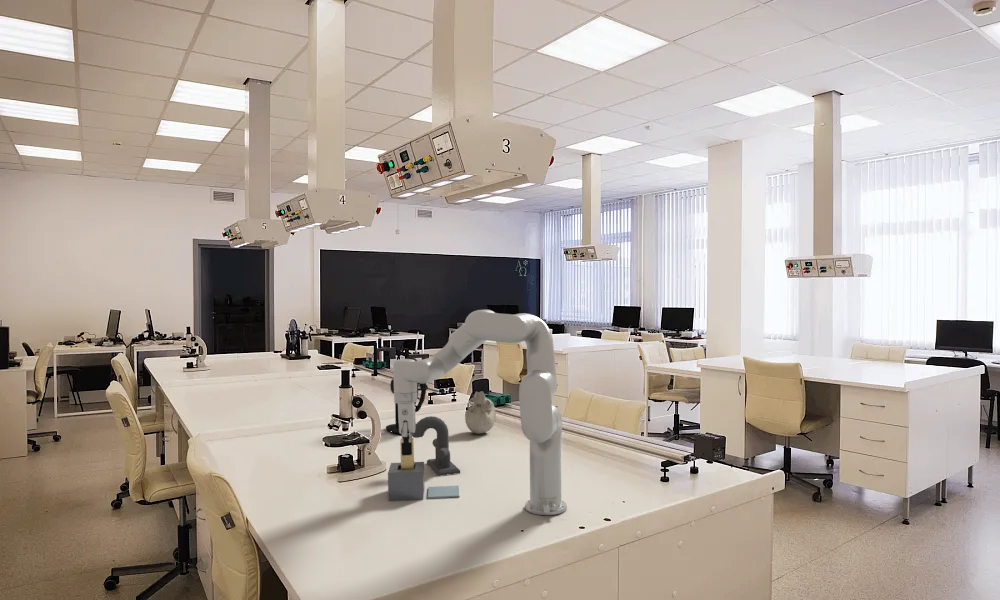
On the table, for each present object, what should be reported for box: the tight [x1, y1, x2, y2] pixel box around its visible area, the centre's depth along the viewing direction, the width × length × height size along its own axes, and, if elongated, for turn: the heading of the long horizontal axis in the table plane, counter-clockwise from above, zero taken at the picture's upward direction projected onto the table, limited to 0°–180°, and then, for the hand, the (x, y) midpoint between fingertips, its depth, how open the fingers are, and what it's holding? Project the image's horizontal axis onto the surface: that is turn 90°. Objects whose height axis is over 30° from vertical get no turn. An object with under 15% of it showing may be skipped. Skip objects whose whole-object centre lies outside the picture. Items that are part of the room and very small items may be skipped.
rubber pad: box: [427, 485, 460, 500], centre depth 197 cm, size 10×10×1 cm
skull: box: [464, 391, 496, 435], centre depth 280 cm, size 13×15×20 cm
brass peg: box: [399, 437, 415, 470], centre depth 196 cm, size 4×4×12 cm
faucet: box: [412, 415, 461, 477], centre depth 223 cm, size 18×16×20 cm
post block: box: [387, 461, 425, 502], centre depth 196 cm, size 11×11×9 cm
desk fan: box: [385, 356, 429, 435], centre depth 288 cm, size 27×18×35 cm, turn 32°
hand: (407, 452), depth 196 cm, fingers closed on brass peg, 4 cm apart
